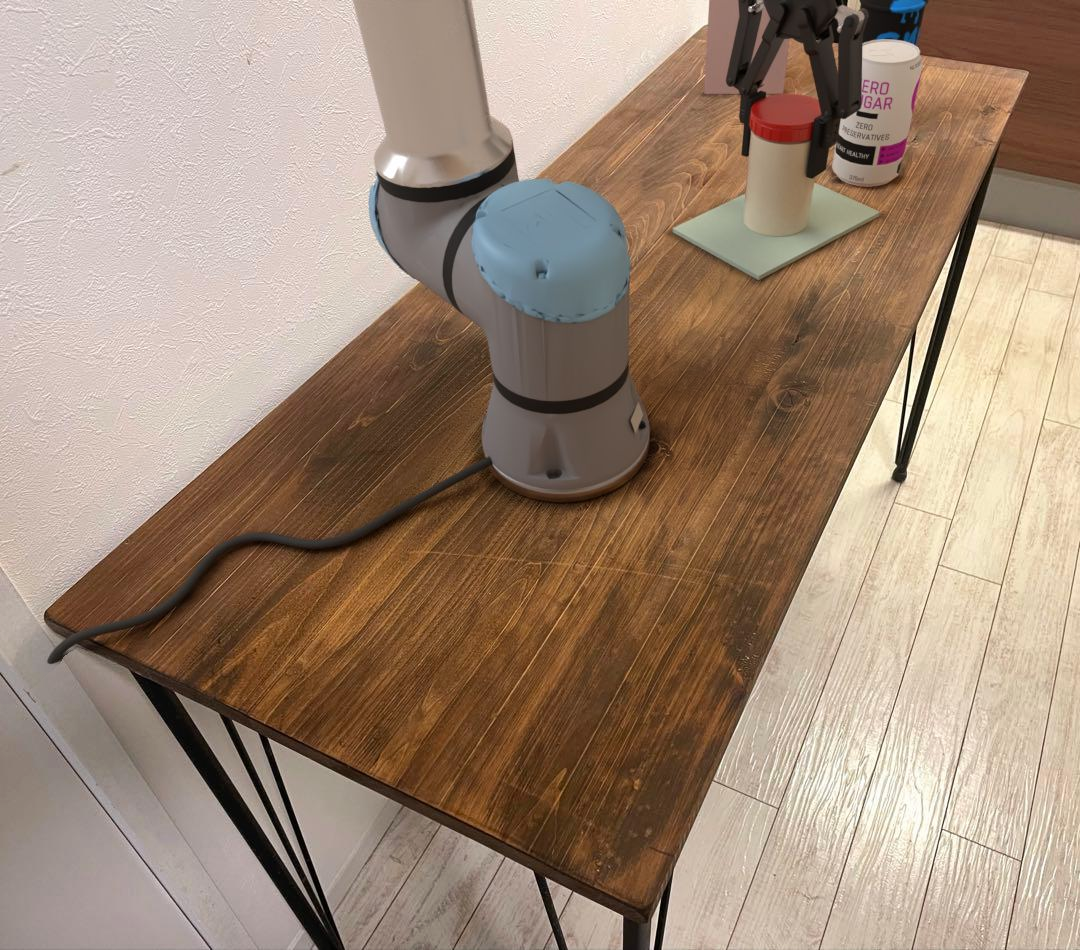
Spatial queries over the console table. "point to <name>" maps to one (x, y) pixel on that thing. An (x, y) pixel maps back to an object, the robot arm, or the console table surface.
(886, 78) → the white soda can
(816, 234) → the mat
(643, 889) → the console table surface
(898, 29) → the aerosol can
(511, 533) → the console table surface
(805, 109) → the lid
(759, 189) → the jar
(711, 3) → the greeting card
